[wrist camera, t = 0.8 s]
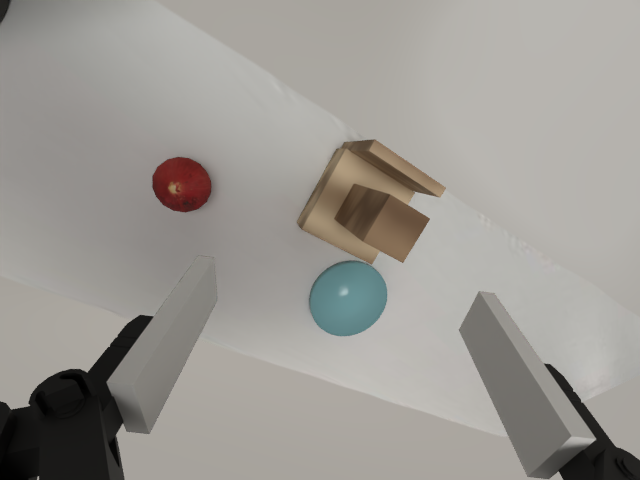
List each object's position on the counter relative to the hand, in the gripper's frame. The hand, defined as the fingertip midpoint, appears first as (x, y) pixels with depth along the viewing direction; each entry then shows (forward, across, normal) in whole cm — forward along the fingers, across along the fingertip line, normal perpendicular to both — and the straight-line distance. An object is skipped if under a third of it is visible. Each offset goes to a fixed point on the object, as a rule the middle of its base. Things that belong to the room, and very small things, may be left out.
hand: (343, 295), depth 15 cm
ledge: (+26, +3, -6) cm, 27 cm away
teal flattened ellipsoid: (+23, +4, -20) cm, 31 cm away
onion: (+22, -18, -4) cm, 29 cm away
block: (+23, +4, -5) cm, 24 cm away
